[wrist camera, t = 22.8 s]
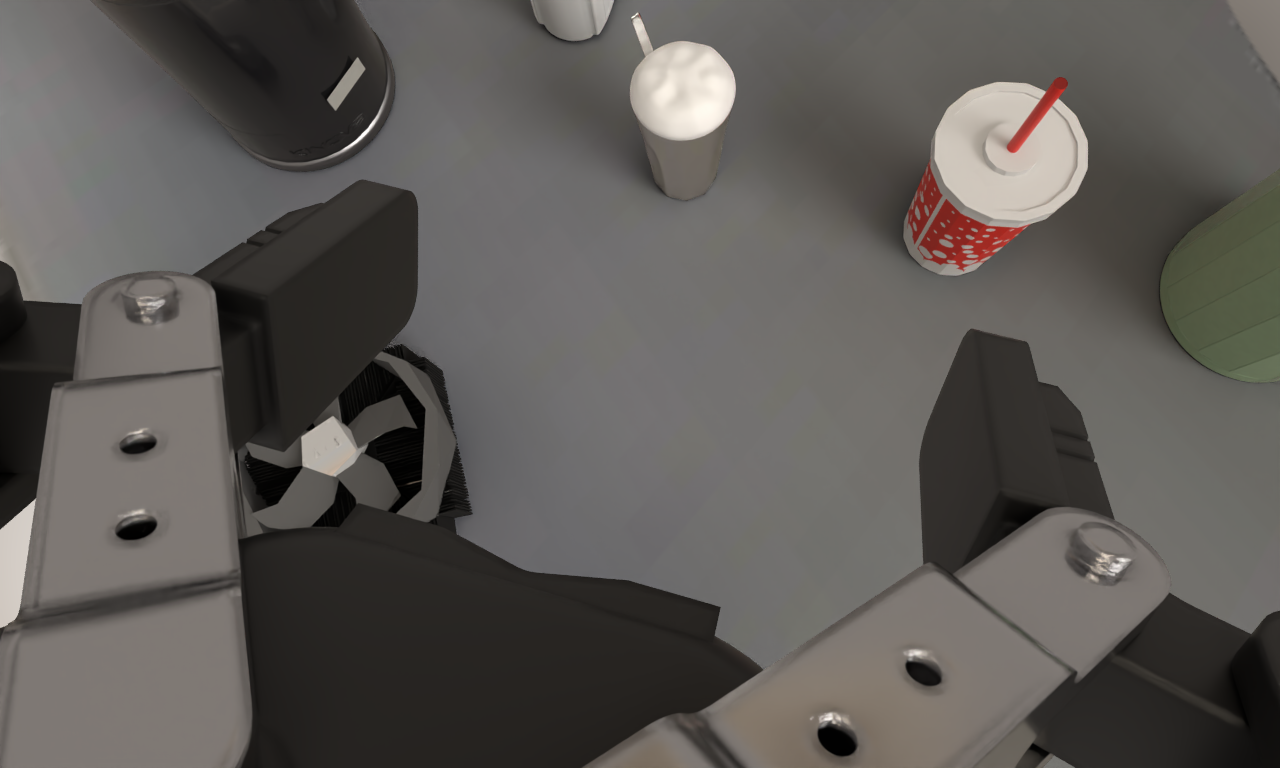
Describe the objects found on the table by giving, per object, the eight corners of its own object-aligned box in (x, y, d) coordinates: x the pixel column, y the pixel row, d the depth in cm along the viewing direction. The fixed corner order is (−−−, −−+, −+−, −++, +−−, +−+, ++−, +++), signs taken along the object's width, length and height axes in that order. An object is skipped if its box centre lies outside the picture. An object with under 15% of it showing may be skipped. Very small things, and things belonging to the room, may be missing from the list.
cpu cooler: (415, 310, 39) (461, 534, 37) (450, 343, 45) (492, 539, 43) (191, 369, 39) (224, 596, 37) (254, 394, 45) (286, 593, 43)
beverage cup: (1035, 254, 44) (1188, 113, 30) (928, 312, 44) (1034, 195, 30) (968, 155, 45) (1086, -24, 32) (864, 211, 45) (937, 54, 31)
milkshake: (681, 105, 47) (677, -18, 37) (746, 176, 46) (760, 70, 36) (614, 156, 47) (592, 46, 37) (678, 230, 45) (673, 136, 36)
